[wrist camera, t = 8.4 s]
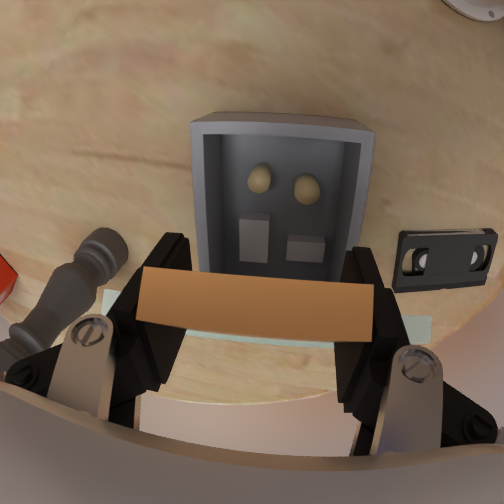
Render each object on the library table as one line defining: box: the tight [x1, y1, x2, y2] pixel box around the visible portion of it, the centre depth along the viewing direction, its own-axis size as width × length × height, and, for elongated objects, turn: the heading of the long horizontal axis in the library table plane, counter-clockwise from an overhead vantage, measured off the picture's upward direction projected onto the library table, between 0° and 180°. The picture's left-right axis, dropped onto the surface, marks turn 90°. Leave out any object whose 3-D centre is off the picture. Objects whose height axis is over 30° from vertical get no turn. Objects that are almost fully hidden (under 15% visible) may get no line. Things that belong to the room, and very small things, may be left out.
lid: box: [101, 266, 431, 348], centre depth 19 cm, size 14×26×2 cm
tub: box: [190, 112, 375, 282], centre depth 30 cm, size 14×20×8 cm
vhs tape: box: [392, 228, 498, 293], centre depth 33 cm, size 14×8×2 cm, turn 97°
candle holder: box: [0, 228, 128, 373], centre depth 28 cm, size 6×6×25 cm
